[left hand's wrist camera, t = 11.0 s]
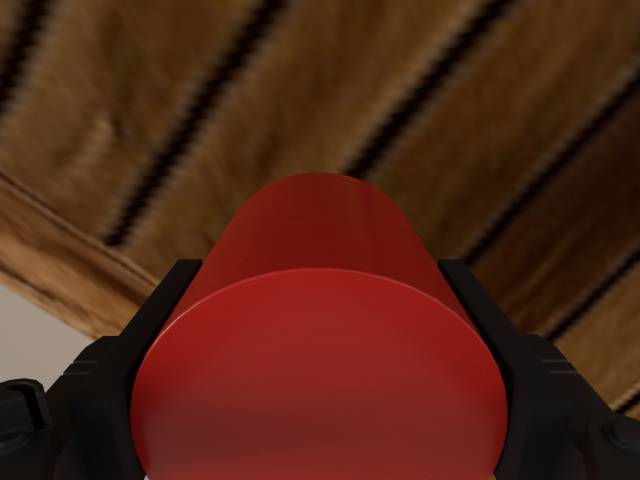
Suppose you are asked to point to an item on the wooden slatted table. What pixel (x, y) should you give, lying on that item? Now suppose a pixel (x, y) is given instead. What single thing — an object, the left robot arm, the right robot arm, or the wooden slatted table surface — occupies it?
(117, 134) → the wooden slatted table surface
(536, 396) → the left robot arm
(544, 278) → the wooden slatted table surface
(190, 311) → the cylinder
